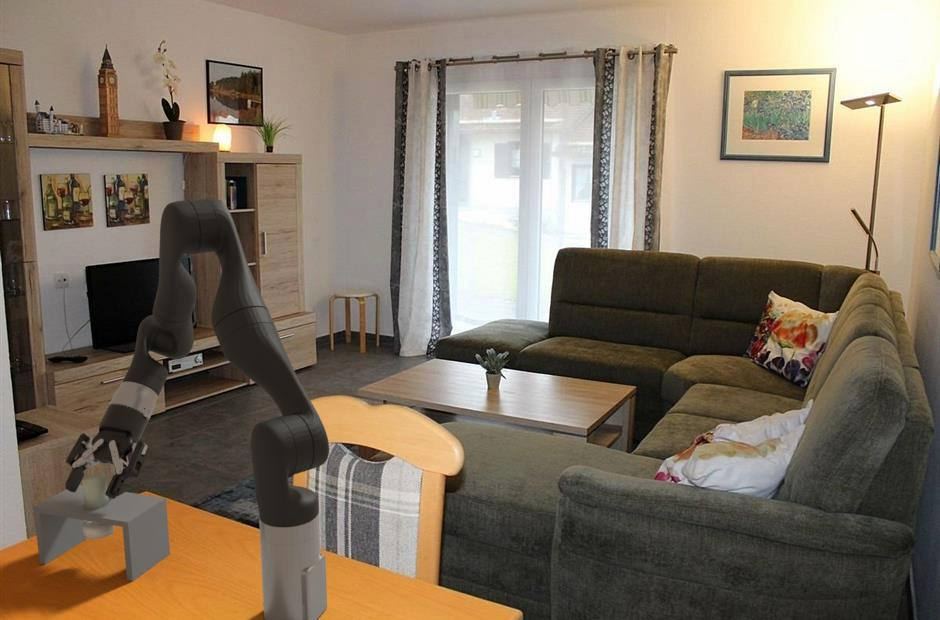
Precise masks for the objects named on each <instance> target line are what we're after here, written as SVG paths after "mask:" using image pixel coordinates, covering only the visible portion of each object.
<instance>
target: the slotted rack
mask: <svg viewBox="0 0 940 620" xmlns="http://www.w3.org/2000/svg"><path fill="white" fill-rule="evenodd" d="M109 499H111V498H109V497H108V505H106V506H105V507H102V508H99V509H87V508H85V502H84V492H83V484H79V486H78V488H77V490H76V492H70V491H69V490H67V489H66V488H65V489H64V490H62V491H61V492H59V493H57V494H55V495H53V496H51V497H49V498H48V499H46V500H44V501H41V502H39V503H37V504H36V505H33V513H34V522H35V531H36V542H37V552H38V559H39V564H40V565H47V564H49V563H50V562H52V561H53V560H55V559H56V558H58V557H59V556H61V555H63V554H64V553H66V552H67V551H69V550H71V549H72V548H74V547H76V546H78V545H79V544H81V543H83V542H84V541H86V539H87V538H85V537H84V531H83V523H84V522H85V521H91V522H97V523H103V524H109V525H114V527H121V528H122V538H123V546H124V548H123V549H124V559H125V569H126V571H125V573H126V580H127V581H130V582H134V581H135V580H137V579H139V578H140V577H141V576H143V574H145V573H146V572H148V571H149V570H150V569H152V568H153V567H154V566H155V565H157V564H159V563H160V562H161V561H163V560H164V559H165V558H167V557H168V556H169V555H171V551H170V549H171V548H170V537H169V536H170V534H169V533H170V532H169V524H168V522H169V521H168V520H169V519H168V510H167V509H168V508H167V506H168V505H167V498H166V497H160V496H153V495H148V494H147V495H146V494H140V493H135V492H130V491H129V492H128V491H125V492H123V493H122V494H121V493H120V494H119V495H118V496H116V498H115V499H111V500H109Z"/></svg>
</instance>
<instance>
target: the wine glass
mask: <svg viewBox="0 0 940 620" xmlns="http://www.w3.org/2000/svg"><path fill="white" fill-rule="evenodd" d="M81 482H82V485H83V492H84V502H85V508H87V509H99V508H102V507H105V506H106V505H108V502H109V499H108V496H106V495H105V492H106V490H107V488H108V482H107V475H105V474H103V473H95V474H91V475H87V476H84V477H83V478H82V480H81ZM83 531H84V537H85V538H86V539H88V540H98V539H99V540H101V539H105V538H107V537H109V536H111V535H112V534H113V533H115V525H109V524H103V523H97V522H91V521H85V522H84V523H83Z"/></svg>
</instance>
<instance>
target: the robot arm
mask: <svg viewBox="0 0 940 620" xmlns="http://www.w3.org/2000/svg"><path fill="white" fill-rule="evenodd" d="M162 211H163V212H162V214H161V218H160V227H159V250H158V251H159V253H158V255H159V256H158V257H159V258H158V260H159V261H158V262H159V263H158V264H159V265H158V271H159V272H158V286H157V290H156V294H155V299H154V303H153V307H152V314H151V315H148V316H146V317H145V318H144V319H143V320H142V321H141V322H140V324H139V325H138V330H137V334H136V335H137V336H136V341H135V348H134V354H133V356H132V361H131V363H130V365H129V368H128V369H127V372H126V374H125V376H124V378H123V380H122V381H121V383H120V386H119V387H118V388H117V390H116V391H115V393H114V394H113V395H112V397H111V398H112V399H111V401H110V402H109V404H108V406H107V408H106V410H105V412H104V414H103V417H102V419H101V420H100V422H99V425H98V433H97V434H96V435H95V436H89V435H87V434H86V433H85V432H84V433H81V434H80V435H79V437H78V438H77V439H76V442H75V443H74V446H73V447H72V449H71V450H70V453H69V454H68V456H67V458H66V460H65V463H66V464H68V465H69V467H72V468H71V472H70V473H69V475H68V477H67V479H66V480H65V486H64V487H65V490H66V489H67V490H69V491H70V492H76V490H77V488H78V486H79V485H81V483H82V480H83V478H84V477H85V472H87V471H88V470H89V469H90V468H92V467H96V466H97V465H98V464H100V463H101V464H110V465H113V466H114V469H115V473H116V474H113V475H112V478H111V480H110V482H109V484H108V485H107V490H106V492H105V495H106V496H108V497H109V498H110V499H111V500H113V499H115V498H116V497H118V496H119V495H120V494H121V491H122V488H123V487H124V485H125V482H126V480H128V479H129V478H138V477H139V476H140V474H141V472H142V469H143V467H144V464H145V463H146V462H145V461H146V460H147V457H148V454H149V453H150V448H151V447H150V446H148V445H147V444H146V443H145V442H143V441H142V440H141V438H142V435H143V433H144V431H145V429H146V427H147V425H148V423H149V421H150V419H151V416H152V414H153V412H154V410H155V407H156V403H157V400H158V398H159V396H160V394H161V392H162V389H163V387H164V385H165V383H166V381H167V378H168V376H169V371H168V369H167V367H166V366H165V365H164V364H162V363H161V362H160V361H158V360H156V359H155V358H154V357H152V355H150V352H153V353H155V354H157V355H161V356H163V357H166V358H168V359H172V360H182V359H184V358H185V357H187V356H189V354H190V352H191V351H192V349H193V346H194V342H195V341H194V340H195V333H194V332H195V331H194V325H193V320H192V316H193V312H194V309H195V304H196V302H197V295H198V293H197V291H198V290H197V285H196V282H195V280H194V279H193V277H192V276H191V275H190V272H189V271H188V270H187V269H186V268H185V267H184V264H183V263H182V260H183V257H184V256H185V255H186V256H187V255H196V254H204V253H215V255H216V256H217V258H218V261H219V264H220V270H221V274H220V278H219V279H220V280H219V281H220V282H219V284H218V288H217V291H216V294H215V296H214V300H213V304H212V307H211V308H212V309H211V313H210V315H211V316H210V322H211V326H212V329H213V332H214V334H215V337H216V340H217V341H218V344H219V346H220V349H221V352H222V353H223V355H224V357H225V358H226V360H227V361H228V362H229V363H230V364H231V365H232V366H233V367H234V368H235V369H236V370H238V371H239V372H240V373H241V374H243V375H244V376H245V377H247V378H248V379H249V380H251V381H252V382H253V383H255V384H256V385H258V386H259V387H260V388H261V389H263V390H264V391H265V392H266V394H268V395H269V396H270V398H271V399H272V400H273V401H274V403H275V405H276V406H277V408H278V410H279V411H280V413H281V415H280V416H278V417H277V416H276V417H273V418H269V419H265V420H262V421H259V422H258V423H257V424H255V425H254V427H253V428H252V430H251V434H250V456H251V457H250V458H251V465H252V473H253V485H254V495H255V499H256V503H257V508H258V520H259V521H258V522H259V542H260V561H261V562H260V565H261V566H260V567H261V582H262V583H261V584H262V599H263V600H262V606H263V617H264V620H319V618H320V617H321V615H323V613H324V612H325V610H327V608H328V591H327V588H328V587H327V564H326V563H327V559H326V554H324V553H321V539H320V537H321V534H320V533H321V530H320V506H319V505H320V504H319V498H318V497H319V496H318V495H317V493H316V492H315V491H313V490H312V489H310V488H307V487H304V486H298V485H289V479H288V477H291V476H294V475H298V474H301V473H304V472H307V471H310V470H313V469H316V468H319V467H321V466H323V465H324V464H325V463H326V462H327V461H328V458H329V455H330V443H329V442H330V441H329V438H328V435H327V431H326V428H325V426H324V424H323V422H322V420H321V418H320V415H319V414H318V412H317V410H316V408H315V406H314V404H313V403H312V401H311V399H310V397H309V395H308V393H307V392H306V390H305V388H304V387H303V385H302V383H301V381H300V379H299V377H298V375H297V373H296V371H295V369H294V367H293V365H292V363H291V361H290V358H289V356H288V354H287V352H286V349H285V348H284V345H283V342H282V340H281V338H280V336H279V332H278V330H277V327H276V325H275V323H274V321H273V318H272V316H271V314H270V311H269V309H268V307H267V306H266V303H265V300H264V298H263V296H262V294H261V292H260V289H259V287H258V285H257V283H256V281H255V278H254V276H253V274H252V271H251V269H250V265H249V263H248V260H247V259H246V255H245V252H244V249H243V245H242V243H241V240H240V236H239V233H238V230H237V227H236V225H235V222H234V219H233V215H232V214H231V212H230V210H229V208H228V206H227V204H225V202H223V200H221V199H219V198H200V199H199V198H198V199H197V198H196V199H188V200H187V199H185V200H176V201H173V202H169V203H168V204H167V205H166V206H165V207H164V209H163V210H162ZM130 454H132V455H131V456H130V459H129V457H128V456H129V455H130ZM92 456H93V457H92Z"/></svg>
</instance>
